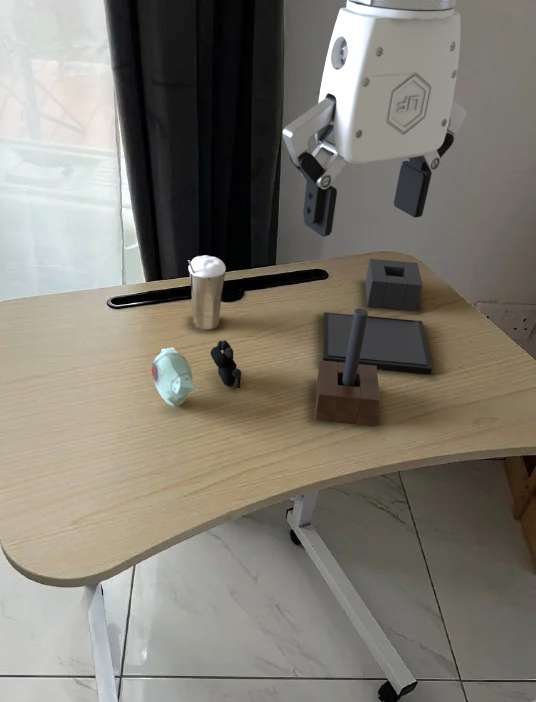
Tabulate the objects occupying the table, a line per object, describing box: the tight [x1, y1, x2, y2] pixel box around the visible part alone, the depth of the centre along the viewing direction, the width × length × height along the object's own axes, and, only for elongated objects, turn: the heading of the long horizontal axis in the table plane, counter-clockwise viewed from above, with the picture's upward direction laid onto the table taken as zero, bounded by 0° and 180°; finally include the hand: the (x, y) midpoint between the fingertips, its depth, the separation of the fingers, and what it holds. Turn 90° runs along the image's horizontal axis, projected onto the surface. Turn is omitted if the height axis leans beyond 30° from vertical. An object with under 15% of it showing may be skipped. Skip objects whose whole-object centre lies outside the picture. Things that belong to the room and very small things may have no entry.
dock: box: [364, 258, 424, 312], centre depth 93 cm, size 7×7×4 cm
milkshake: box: [187, 254, 227, 331], centre depth 83 cm, size 5×5×10 cm
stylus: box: [341, 308, 369, 387], centre depth 70 cm, size 1×1×12 cm
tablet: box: [322, 311, 433, 375], centre depth 84 cm, size 13×11×1 cm
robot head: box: [151, 347, 196, 407], centre depth 71 cm, size 8×4×7 cm, turn 20°
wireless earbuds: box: [210, 339, 242, 390], centre depth 75 cm, size 7×2×5 cm, turn 19°
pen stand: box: [314, 359, 381, 426], centre depth 73 cm, size 6×6×4 cm
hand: (363, 220), depth 57 cm, fingers open, 9 cm apart
